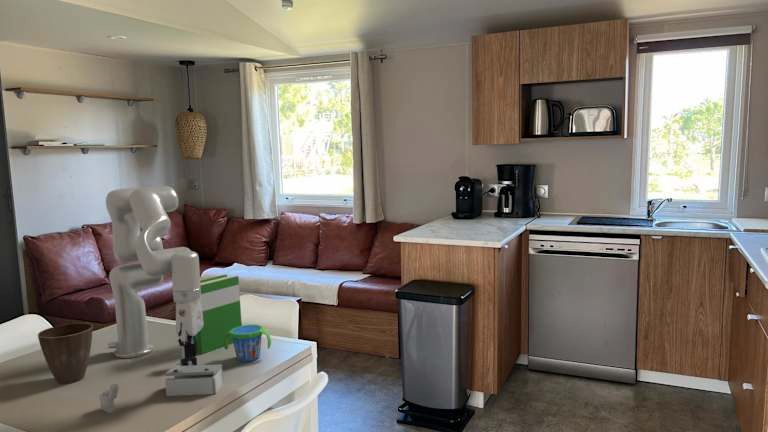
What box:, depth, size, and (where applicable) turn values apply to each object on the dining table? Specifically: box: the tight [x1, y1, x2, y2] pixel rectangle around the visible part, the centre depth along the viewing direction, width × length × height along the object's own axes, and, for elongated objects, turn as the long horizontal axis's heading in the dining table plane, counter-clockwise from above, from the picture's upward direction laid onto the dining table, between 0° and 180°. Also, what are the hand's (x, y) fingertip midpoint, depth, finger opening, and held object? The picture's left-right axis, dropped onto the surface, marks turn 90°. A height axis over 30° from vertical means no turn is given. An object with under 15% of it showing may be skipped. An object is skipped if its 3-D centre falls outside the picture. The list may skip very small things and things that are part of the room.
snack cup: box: [223, 324, 272, 363], centre depth 188 cm, size 16×10×10 cm
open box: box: [164, 367, 224, 397], centre depth 164 cm, size 14×8×5 cm, turn 90°
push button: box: [175, 337, 198, 366], centre depth 183 cm, size 7×5×10 cm
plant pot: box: [37, 322, 94, 385], centre depth 175 cm, size 15×15×16 cm
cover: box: [164, 364, 223, 377], centre depth 164 cm, size 14×8×1 cm, turn 90°
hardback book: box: [195, 274, 243, 355], centre depth 202 cm, size 18×7×24 cm, turn 144°
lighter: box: [99, 383, 120, 413], centre depth 152 cm, size 7×2×8 cm, turn 56°
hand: (191, 355), depth 163 cm, fingers closed
